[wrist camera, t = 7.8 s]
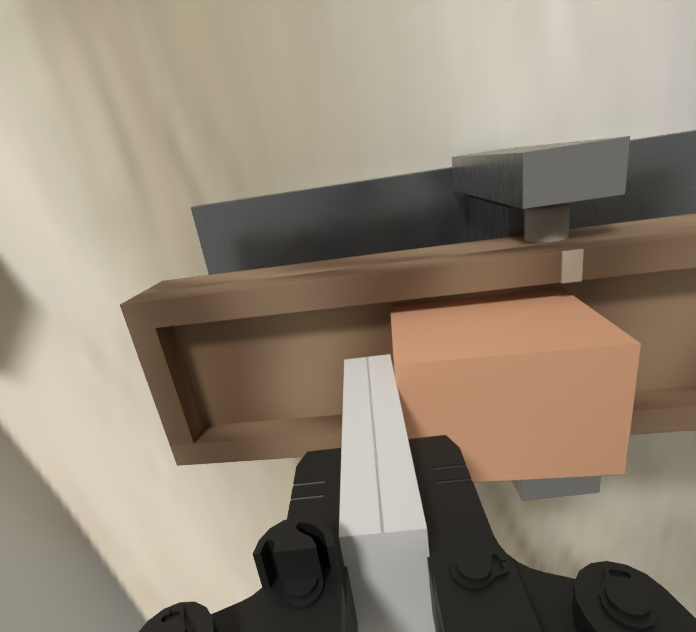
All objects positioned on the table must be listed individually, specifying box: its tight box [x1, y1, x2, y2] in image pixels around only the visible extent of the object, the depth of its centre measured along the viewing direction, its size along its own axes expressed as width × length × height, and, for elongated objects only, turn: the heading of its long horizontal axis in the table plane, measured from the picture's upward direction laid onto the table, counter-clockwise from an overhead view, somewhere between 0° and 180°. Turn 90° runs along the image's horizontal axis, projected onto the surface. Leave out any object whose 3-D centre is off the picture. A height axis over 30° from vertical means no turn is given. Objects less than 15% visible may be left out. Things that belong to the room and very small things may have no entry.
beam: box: [120, 203, 696, 466], centre depth 15 cm, size 30×9×3 cm, turn 98°
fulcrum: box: [191, 130, 696, 500], centre depth 19 cm, size 30×13×10 cm, turn 98°
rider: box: [390, 289, 641, 482], centre depth 13 cm, size 6×4×4 cm, turn 98°
